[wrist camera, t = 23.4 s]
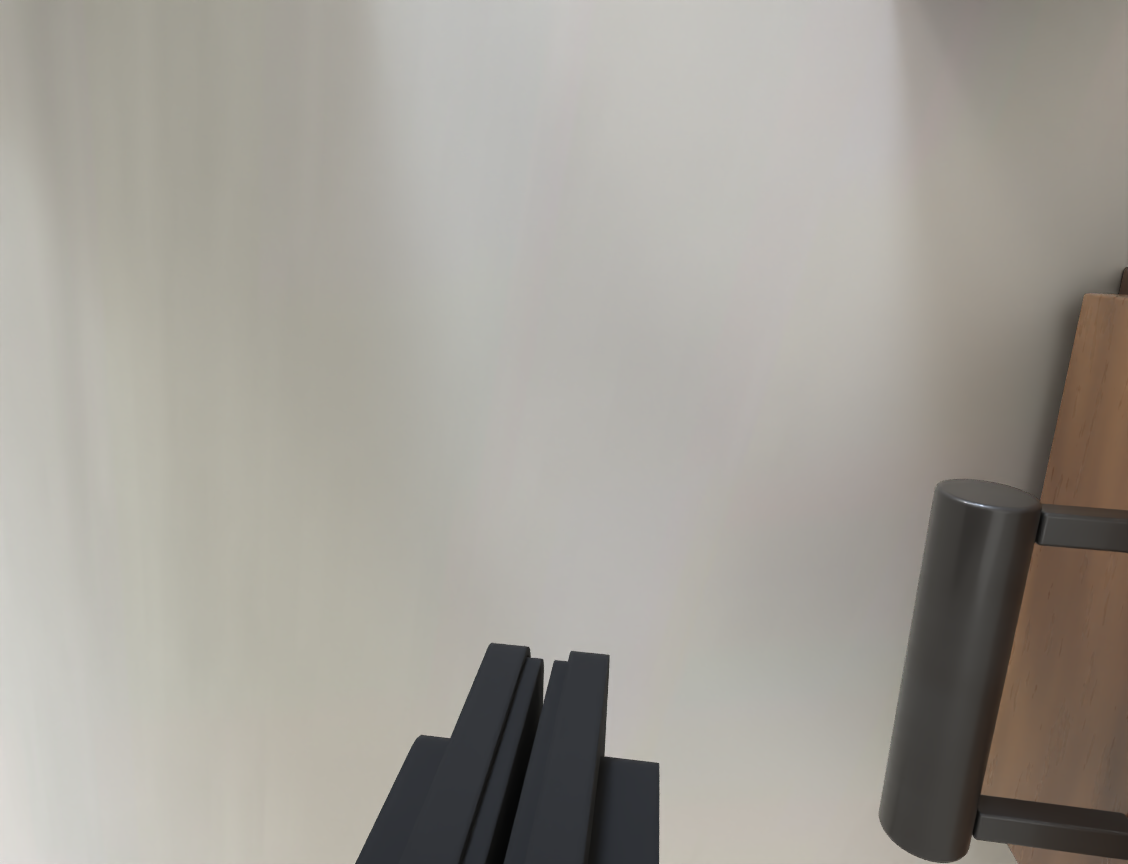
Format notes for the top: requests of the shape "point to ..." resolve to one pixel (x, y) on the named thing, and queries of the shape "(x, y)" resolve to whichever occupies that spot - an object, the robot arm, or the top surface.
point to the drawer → (1026, 643)
